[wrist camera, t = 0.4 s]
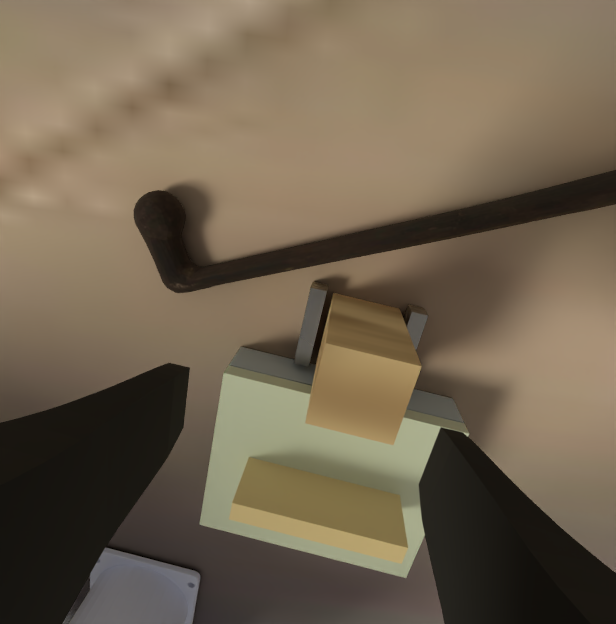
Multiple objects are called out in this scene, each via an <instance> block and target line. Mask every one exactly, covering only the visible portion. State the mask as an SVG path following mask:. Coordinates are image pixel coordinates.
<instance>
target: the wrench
mask: <svg viewBox="0 0 616 624" xmlns="http://www.w3.org/2000/svg"><path fill="white" fill-rule="evenodd" d="M614 204H616V170H614V171H610V172H606V173H603V174H599V175H595V176H591V177H587V178H583V179H580V180H576V181H572V182H569V183H565V184H561V185H557V186H553V187H549V188H546V189H542V190H538V191H534V192H530V193H526V194H522V195H518V196H514V197H510V198H506V199H501V200H497V201H493V202H489V203H485V204H481V205H477V206H473V207H469V208H464V209H460V210H456V211H451V212H447V213H443V214H438V215H434V216H430V217H425V218H421V219H416V220H412V221H407V222H403V223H398V224H394V225H389V226H385V227H380V228H376V229H371V230H367V231H362V232H358V233H353V234H349V235H345V236H340V237H336V238H331V239H327V240H322V241H318V242H313V243H309V244H305V245H300V246H296V247H291V248H287V249H282V250H278V251H274V252H269V253H265V254H260V255H255V256H251V257H247V258H242V259H238V260H233V261H229V262H224V263H220V264H215V265H210V266H205V267H199V266H197V265H195V264H193V262H192V261H191V260H190V258H189V256H188V254H187V252H186V249H185V247H184V244H183V241H182V238H181V232H182V230H183V227H184V223H185V211H184V209H183V207H182V205H181V203H180V202H179V200H178V199H177V198H176V197H175V196H173V195H172V194H170V193H168V192H165V191H159V190H157V191H152V192H148V193H147V194H145V195H143V196H142V197H141V198H140V199H139V200H138V202H137V203H136V205H135V208H134V219H135V223H136V226H137V227H138V229H139V231H140V233H141V235H142V236H143V238H144V240H145V242H146V244H147V246H148V248H149V250H150V253H151V255H152V257H153V259H154V261H155V264H156V266H157V269H158V271H159V274H160V276H161V279H162V281H163V283H164V284H165V286H166V287H167V288H168V289H170V290H172V291H174V292H176V293H185V292H191V291H196V290H200V289H204V288H209V287H212V286H215V285H220V284H225V283H230V282H235V281H241V280H246V279H251V278H255V277H260V276H265V275H270V274H275V273H280V272H285V271H290V270H295V269H300V268H305V267H310V266H315V265H321V264H326V263H331V262H336V261H340V260H345V259H350V258H355V257H361V256H366V255H370V254H375V253H381V252H386V251H391V250H396V249H401V248H406V247H411V246H416V245H421V244H426V243H431V242H436V241H441V240H446V239H451V238H456V237H461V236H465V235H470V234H475V233H480V232H485V231H489V230H494V229H499V228H504V227H509V226H513V225H518V224H523V223H528V222H532V221H537V220H542V219H547V218H552V217H556V216H561V215H566V214H571V213H576V212H581V211H586V210H591V209H596V208H600V207H605V206H609V205H614Z"/></svg>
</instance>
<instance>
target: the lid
mask: <svg viewBox="0 0 616 624" xmlns="http://www.w3.org/2000/svg"><path fill="white" fill-rule="evenodd" d="M311 389H312V386H310V385H306V384H302V383H298V382H294V381H290V380H286V379H282V378H278V377H274V376H270V375H266V374H262V373H258V372H254V371H250V370H246V369H242V368H238V367H233V366H229V365H228V367H227V368H226V370H225V372H224V374H223V380H222V386H221V392H220V399H219V405H218V411H217V418H216V424H215V430H214V436H213V443H212V449H211V455H210V461H209V468H208V474H207V480H206V487H205V493H204V499H203V505H202V512H201V518H200V524H199V525H203V526H207V527H211V528H214V529H218V530H222V531H226V532H230V533H234V534H238V535H241V536H245V537H249V538H253V539H257V540H261V541H265V542H268V543H272V544H276V545H280V546H284V547H288V548H292V549H295V550H299V551H303V552H307V553H311V554H315V555H319V556H322V557H326V558H330V559H334V560H338V561H342V562H346V563H349V564H353V565H357V566H361V567H365V568H369V569H373V570H377V571H380V572H384V573H388V574H392V575H396V576H400V577H404V578H406V577H407V575H408V572H409V570H410V568H411V566H412V563H413V561H414V559H415V556H416V554H417V552H418V550H419V547H420V545H421V543H422V540H423V538H424V536H425V533H424V528H423V523H422V517H421V507H420V496H419V482H420V479H421V477H422V474H423V472H424V469H425V466H426V464H427V461H428V459H429V456H430V454H431V451H432V448H433V446H434V443H435V441H436V438H437V436H438V433H439V430H440V428H441V427H442V428H446V429H451V430H455V431H459V432H463V433H464V434H465V435H466V436H467V437H468V436H469V432H468V430H467V428H466V426H465V424H464V423H460V422H456V421H452V420H448V419H444V418H440V417H436V416H432V415H428V414H424V413H420V412H416V411H412V410H408V409H406V412H405V414H404V417H403V420H402V423H401V425H400V428H399V431H398V434H397V437H396V439H395V442H394V445H390V444H386V443H382V442H378V441H374V440H370V439H366V438H362V437H358V436H354V435H350V434H346V433H342V432H338V431H334V430H330V429H326V428H322V427H318V426H314V425H310V424H306V423H305V421H306V416H307V410H308V405H309V400H310V394H311Z"/></svg>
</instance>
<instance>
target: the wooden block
mask: <svg viewBox="0 0 616 624" xmlns="http://www.w3.org/2000/svg"><path fill="white" fill-rule="evenodd" d="M421 367H422V366H421V363H420V361H419V358H418V355H417V353H416V350H415V348H414V345H413V342H412V340H411V337H410V335H409V332H408V329H407V327H406V324H405V322H404V319H403V316H402V314H401V311H400V309H399V308H395V307H390V306H386V305H382V304H378V303H374V302H370V301H365V300H361V299H357V298H353V297H349V296H345V295H340V294H336V293H333V296H332V300H331V304H330V308H329V312H328V316H327V320H326V324H325V328H324V332H323V336H322V340H321V344H320V348H319V352H318V357H317V362H316V368H315V373H314V378H313V384H312V389H311V394H310V400H309V405H308V410H307V416H306V421H305V423H306V424H310V425H314V426H318V427H322V428H326V429H330V430H334V431H338V432H342V433H346V434H350V435H354V436H358V437H362V438H366V439H370V440H374V441H378V442H382V443H386V444H390V445H394V442H395V439H396V437H397V434H398V431H399V428H400V425H401V423H402V420H403V417H404V414H405V412H406V409H407V406H408V403H409V400H410V398H411V395H412V392H413V389H414V387H415V384H416V381H417V378H418V376H419V373H420V370H421Z"/></svg>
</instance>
